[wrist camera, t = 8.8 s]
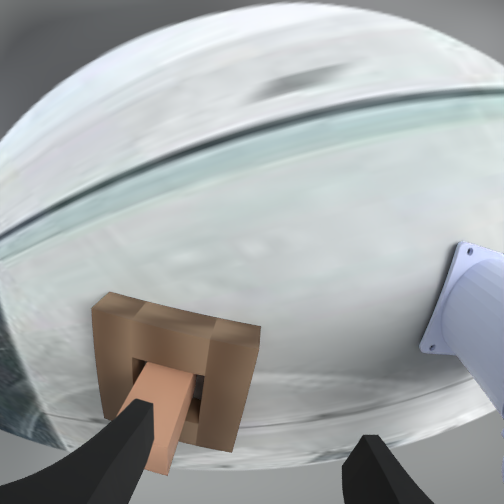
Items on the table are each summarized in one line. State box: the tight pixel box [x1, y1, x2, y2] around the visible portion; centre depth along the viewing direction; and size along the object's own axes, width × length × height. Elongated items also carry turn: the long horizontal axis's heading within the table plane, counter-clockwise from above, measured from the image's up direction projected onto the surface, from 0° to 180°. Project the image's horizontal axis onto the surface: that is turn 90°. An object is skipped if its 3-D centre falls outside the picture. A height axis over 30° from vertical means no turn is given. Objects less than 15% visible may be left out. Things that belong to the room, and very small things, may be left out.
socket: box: [91, 292, 261, 453], centre depth 19 cm, size 10×10×2 cm
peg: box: [116, 362, 197, 476], centre depth 16 cm, size 3×3×8 cm
